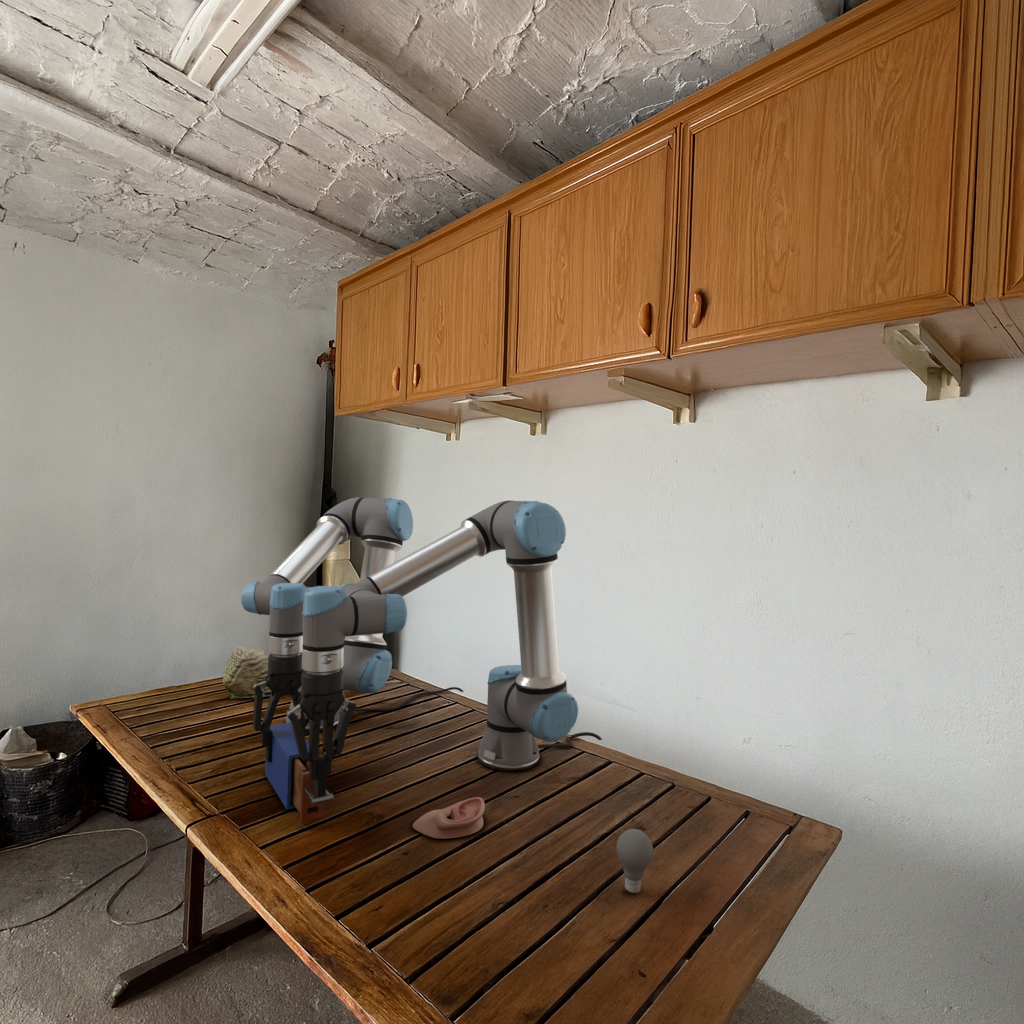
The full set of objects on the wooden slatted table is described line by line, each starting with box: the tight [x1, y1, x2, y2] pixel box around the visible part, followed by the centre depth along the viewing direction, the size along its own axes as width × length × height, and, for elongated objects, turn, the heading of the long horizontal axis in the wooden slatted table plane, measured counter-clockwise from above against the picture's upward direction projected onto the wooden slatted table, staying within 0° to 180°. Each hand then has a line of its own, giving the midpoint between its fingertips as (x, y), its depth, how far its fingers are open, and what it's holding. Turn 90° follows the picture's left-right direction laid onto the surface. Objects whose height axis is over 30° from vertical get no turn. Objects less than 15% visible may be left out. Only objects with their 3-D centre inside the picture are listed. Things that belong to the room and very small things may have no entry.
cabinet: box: [264, 722, 309, 811], centre depth 137 cm, size 19×5×11 cm, turn 34°
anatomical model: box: [412, 796, 486, 840], centre depth 124 cm, size 13×4×12 cm
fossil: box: [222, 646, 271, 699], centre depth 198 cm, size 9×18×15 cm, turn 132°
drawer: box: [291, 757, 334, 824], centre depth 127 cm, size 24×4×9 cm, turn 34°
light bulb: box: [615, 828, 654, 894], centre depth 106 cm, size 6×6×10 cm
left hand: (282, 757), depth 141 cm, fingers closed on cabinet, 5 cm apart
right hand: (319, 793), depth 119 cm, fingers closed
